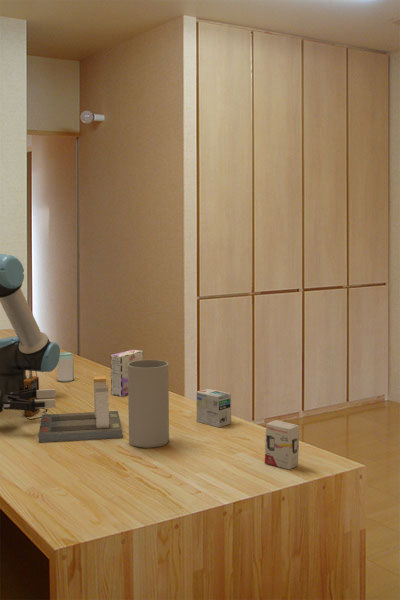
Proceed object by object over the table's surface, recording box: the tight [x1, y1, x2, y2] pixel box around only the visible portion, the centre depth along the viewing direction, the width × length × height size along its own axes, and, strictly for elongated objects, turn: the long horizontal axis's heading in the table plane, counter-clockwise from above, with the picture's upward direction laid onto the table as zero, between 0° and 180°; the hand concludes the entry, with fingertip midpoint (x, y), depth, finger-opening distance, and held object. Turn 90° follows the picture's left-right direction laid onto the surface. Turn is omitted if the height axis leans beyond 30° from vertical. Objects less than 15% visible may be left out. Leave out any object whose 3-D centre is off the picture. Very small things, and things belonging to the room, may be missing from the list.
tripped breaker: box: [93, 375, 107, 418], centre depth 237 cm, size 4×4×13 cm
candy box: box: [110, 349, 144, 398], centre depth 280 cm, size 14×6×16 cm, turn 144°
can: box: [56, 351, 75, 383], centre depth 302 cm, size 7×7×12 cm
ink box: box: [264, 419, 301, 470], centre depth 197 cm, size 9×5×12 cm, turn 50°
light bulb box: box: [195, 388, 232, 428], centre depth 238 cm, size 11×7×11 cm, turn 47°
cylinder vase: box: [127, 359, 170, 449], centre depth 217 cm, size 12×12×25 cm
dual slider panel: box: [38, 384, 123, 444], centre depth 231 cm, size 23×26×16 cm
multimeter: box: [23, 358, 49, 421], centre depth 249 cm, size 15×10×20 cm
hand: (55, 398), depth 235 cm, fingers open, 13 cm apart
